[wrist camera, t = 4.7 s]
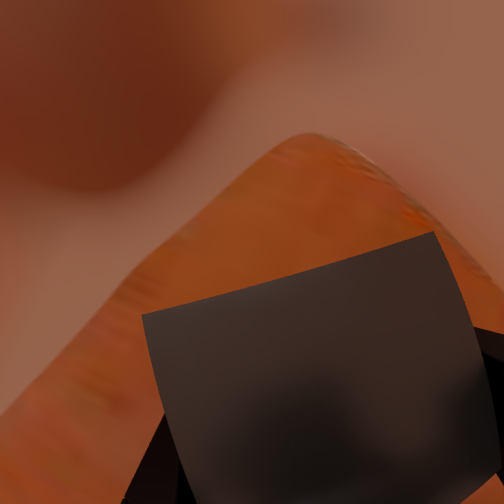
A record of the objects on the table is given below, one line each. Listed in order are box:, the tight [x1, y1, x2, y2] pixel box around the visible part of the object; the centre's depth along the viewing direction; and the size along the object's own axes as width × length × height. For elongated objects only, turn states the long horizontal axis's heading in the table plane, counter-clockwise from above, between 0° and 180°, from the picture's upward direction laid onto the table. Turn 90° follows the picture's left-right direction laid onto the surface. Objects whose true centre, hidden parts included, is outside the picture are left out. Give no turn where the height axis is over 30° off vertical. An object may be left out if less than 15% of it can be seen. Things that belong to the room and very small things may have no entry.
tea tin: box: [142, 231, 502, 504], centre depth 9 cm, size 7×7×10 cm
